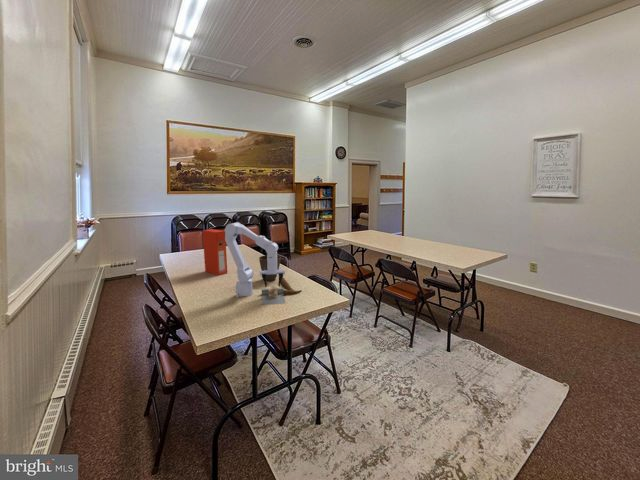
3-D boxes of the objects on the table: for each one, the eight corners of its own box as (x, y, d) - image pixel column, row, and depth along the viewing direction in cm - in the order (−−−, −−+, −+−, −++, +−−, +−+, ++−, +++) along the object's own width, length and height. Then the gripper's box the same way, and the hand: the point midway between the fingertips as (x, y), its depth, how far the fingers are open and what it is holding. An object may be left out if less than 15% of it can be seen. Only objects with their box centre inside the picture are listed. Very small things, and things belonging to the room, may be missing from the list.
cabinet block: (268, 298, 177) (268, 289, 176) (268, 294, 183) (268, 286, 182) (277, 297, 178) (277, 289, 177) (277, 293, 184) (276, 285, 183)
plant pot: (283, 276, 222) (282, 255, 219) (278, 283, 208) (277, 260, 205) (263, 276, 224) (262, 254, 221) (256, 282, 209) (256, 259, 206)
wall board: (261, 306, 167) (261, 299, 166) (261, 295, 184) (261, 288, 184) (285, 305, 169) (285, 298, 169) (283, 293, 187) (283, 287, 186)
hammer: (275, 281, 210) (283, 295, 181) (276, 277, 209) (284, 290, 181) (292, 282, 213) (302, 296, 185) (292, 278, 213) (303, 291, 185)
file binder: (217, 275, 224) (215, 232, 219) (204, 271, 235) (202, 230, 229) (227, 273, 230) (225, 231, 225) (214, 269, 241) (212, 229, 235)
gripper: (259, 265, 172) (260, 289, 175) (285, 265, 175) (285, 287, 177) (259, 262, 179) (260, 285, 182) (284, 262, 182) (284, 284, 184)
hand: (272, 286), depth 180 cm, fingers open, 7 cm apart
